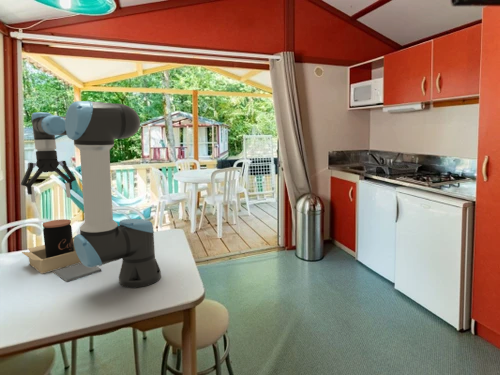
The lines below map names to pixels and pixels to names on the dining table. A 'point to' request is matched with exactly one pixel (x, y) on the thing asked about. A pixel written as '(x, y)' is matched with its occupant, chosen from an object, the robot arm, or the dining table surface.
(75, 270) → the plate
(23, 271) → the dining table surface
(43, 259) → the carton
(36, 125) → the robot arm
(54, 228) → the coffee jar
